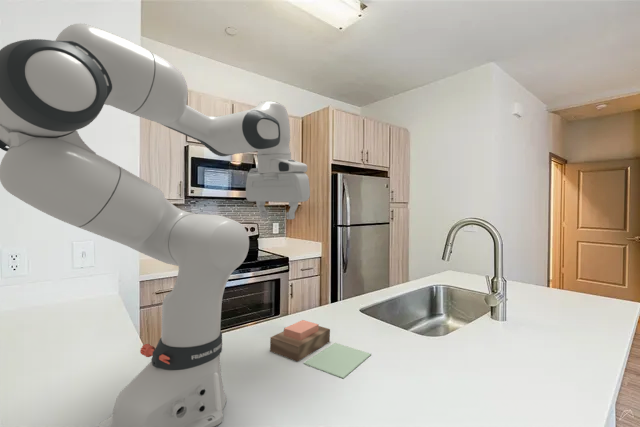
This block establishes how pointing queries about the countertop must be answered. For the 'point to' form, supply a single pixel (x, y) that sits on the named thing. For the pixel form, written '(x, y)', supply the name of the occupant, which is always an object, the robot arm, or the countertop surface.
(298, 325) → the salmon pink eraser
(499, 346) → the countertop surface
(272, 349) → the brown wooden block
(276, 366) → the countertop surface
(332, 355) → the mat
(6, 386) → the countertop surface
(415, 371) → the countertop surface
